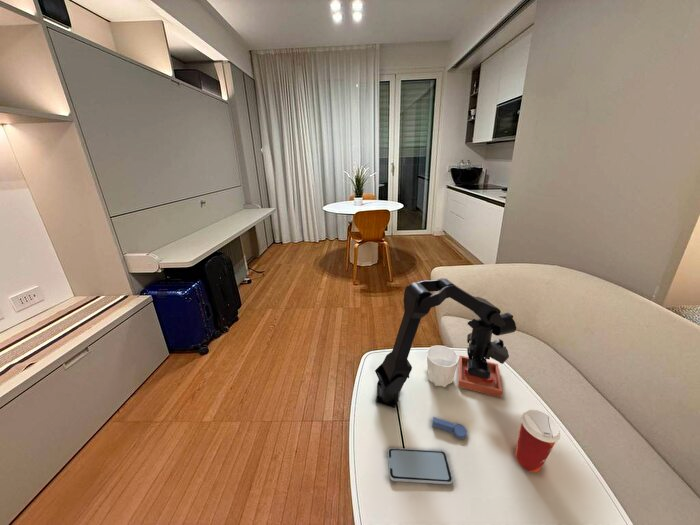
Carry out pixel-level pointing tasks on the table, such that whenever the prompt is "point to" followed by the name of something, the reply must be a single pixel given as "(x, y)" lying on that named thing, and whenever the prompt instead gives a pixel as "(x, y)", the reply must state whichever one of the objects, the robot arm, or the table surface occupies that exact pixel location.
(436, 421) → the blue spoon
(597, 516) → the table surface
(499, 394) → the terracotta tray
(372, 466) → the table surface
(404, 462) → the smartphone
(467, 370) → the red spoon
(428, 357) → the cup
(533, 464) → the paper cup
